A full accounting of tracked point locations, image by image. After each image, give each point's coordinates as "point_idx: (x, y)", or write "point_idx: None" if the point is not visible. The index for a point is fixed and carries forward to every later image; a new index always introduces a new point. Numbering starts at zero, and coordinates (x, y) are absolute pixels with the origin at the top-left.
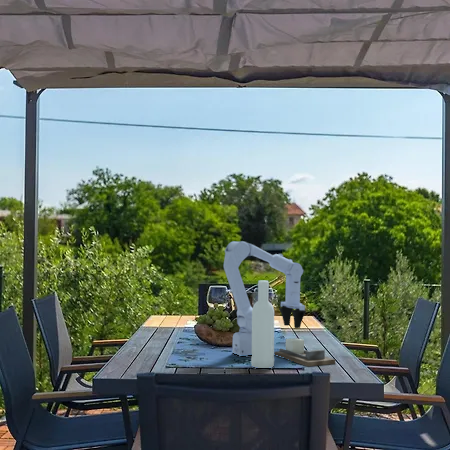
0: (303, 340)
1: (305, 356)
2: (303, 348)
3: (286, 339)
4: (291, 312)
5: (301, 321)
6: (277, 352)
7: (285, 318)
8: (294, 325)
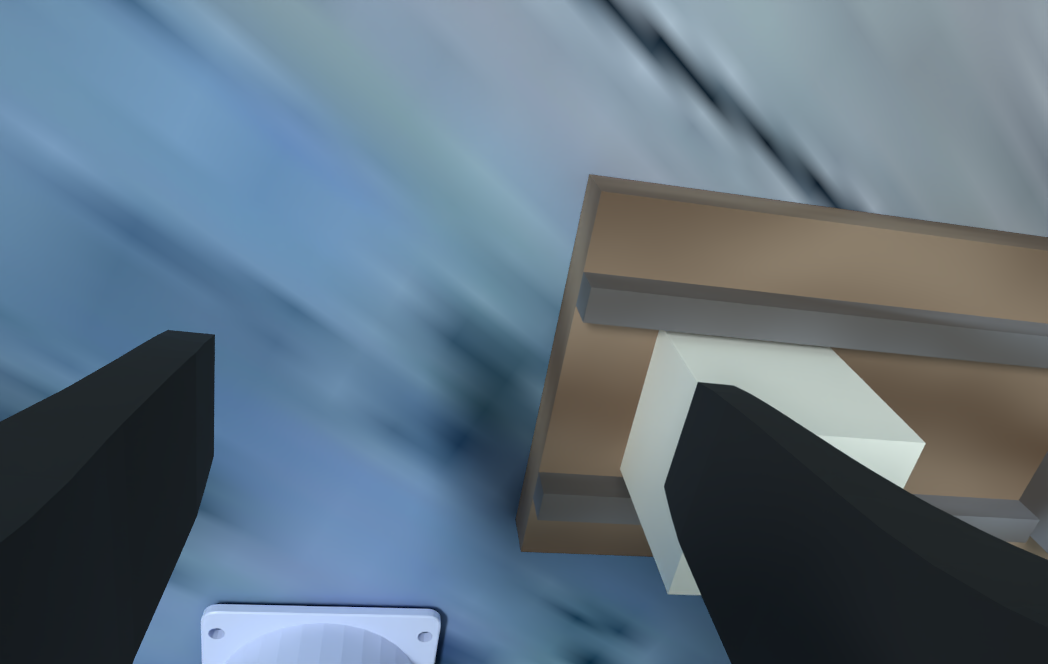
0: (918, 449)
1: (1027, 535)
2: (853, 381)
3: (685, 591)
4: (5, 536)
5: (859, 473)
6: (576, 547)
7: (137, 588)
8: (685, 538)
